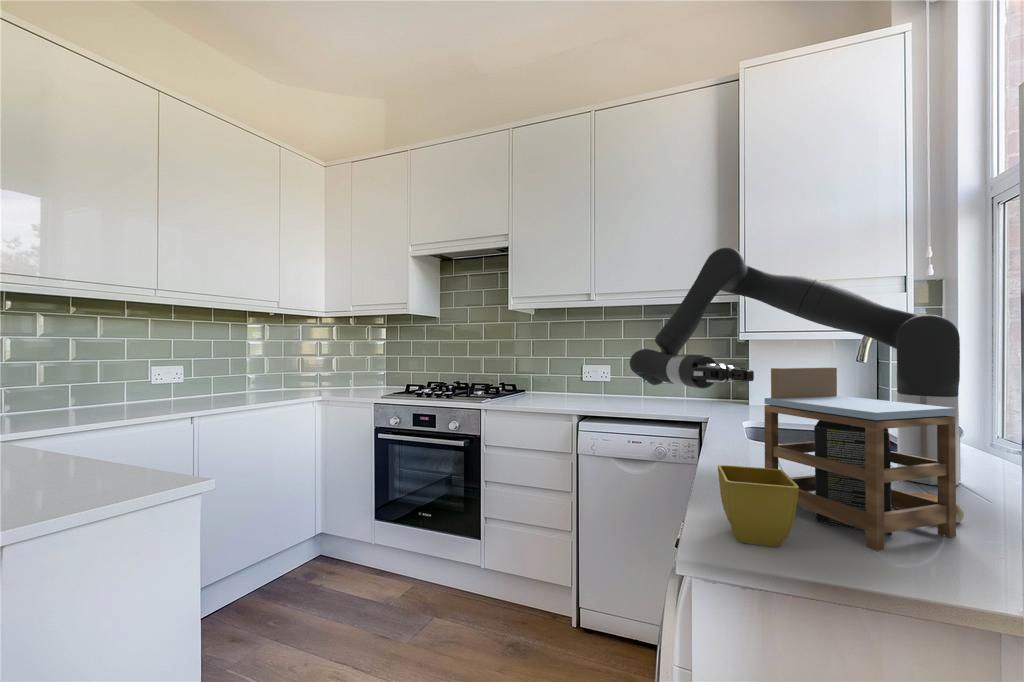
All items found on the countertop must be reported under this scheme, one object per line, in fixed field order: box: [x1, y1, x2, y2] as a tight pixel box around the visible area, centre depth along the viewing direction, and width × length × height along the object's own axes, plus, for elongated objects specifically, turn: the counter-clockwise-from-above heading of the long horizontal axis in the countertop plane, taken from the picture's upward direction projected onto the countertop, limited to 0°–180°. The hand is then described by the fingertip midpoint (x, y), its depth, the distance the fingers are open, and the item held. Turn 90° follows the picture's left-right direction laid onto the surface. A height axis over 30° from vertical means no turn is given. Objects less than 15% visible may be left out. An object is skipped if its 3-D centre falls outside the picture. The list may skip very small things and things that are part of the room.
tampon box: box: [813, 420, 893, 537], centre depth 71 cm, size 11×9×15 cm
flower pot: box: [717, 464, 799, 548], centre depth 64 cm, size 9×9×9 cm
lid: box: [764, 366, 955, 420], centre depth 71 cm, size 16×18×6 cm
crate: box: [764, 404, 957, 552], centre depth 71 cm, size 16×18×17 cm
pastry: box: [893, 492, 965, 524], centre depth 74 cm, size 9×7×4 cm
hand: (750, 375), depth 90 cm, fingers closed
